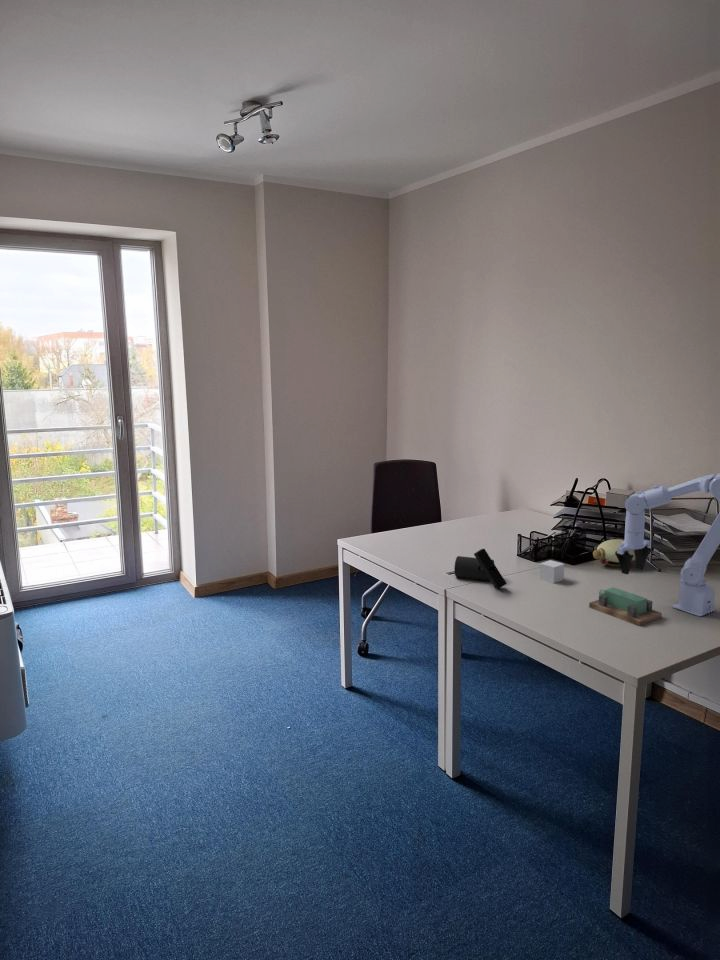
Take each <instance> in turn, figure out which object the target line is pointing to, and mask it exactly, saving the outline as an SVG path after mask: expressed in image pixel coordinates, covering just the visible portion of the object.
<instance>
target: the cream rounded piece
mask: <svg viewBox="0 0 720 960" xmlns="http://www.w3.org/2000/svg"><path fill="white" fill-rule="evenodd" d="M624 540H625V539H619V538H618V539H616V538H615V539H609V540H608V539H607V540H605V541H603V542H601V543H600V544H598V545H597V549H594V550H593V552H592V555H593V558H594V559H595V560H599V561H600V564H602V565H608V566H610V567H620V564H617V563H619V560H618V558H617V556H616V555H615V551H617V547H620V546H621V545H622V542H623V541H624ZM628 553H629V554H631V555H634V556H633V558H632V561H631V564H630V566H632V565H633V561H635V553H634V550H632V551H629V552H628ZM611 562H613V563H616V564H612V563H611Z"/></svg>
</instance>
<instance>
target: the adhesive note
mask: <svg viewBox="0 0 720 960" xmlns="http://www.w3.org/2000/svg"><path fill="white" fill-rule="evenodd" d="M539 580H542V581H545V582H548V583H550V584H556V583H558V582H560V581H563V580H565V564H564V563H562V562H560V561H559V562H558V561H555V560H552V559H549V560H546V561H543V562H540V563H539Z"/></svg>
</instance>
